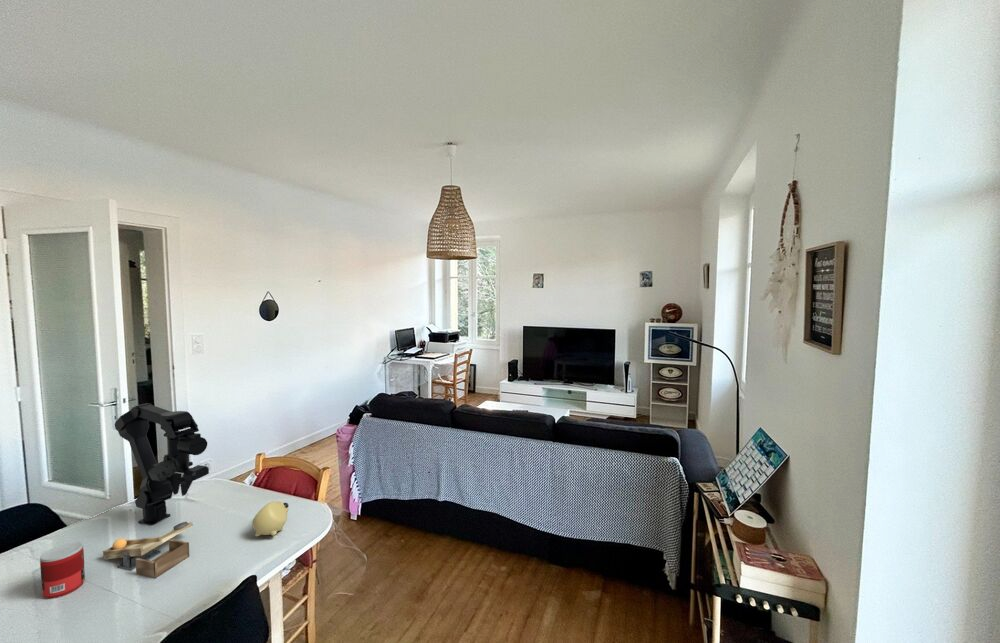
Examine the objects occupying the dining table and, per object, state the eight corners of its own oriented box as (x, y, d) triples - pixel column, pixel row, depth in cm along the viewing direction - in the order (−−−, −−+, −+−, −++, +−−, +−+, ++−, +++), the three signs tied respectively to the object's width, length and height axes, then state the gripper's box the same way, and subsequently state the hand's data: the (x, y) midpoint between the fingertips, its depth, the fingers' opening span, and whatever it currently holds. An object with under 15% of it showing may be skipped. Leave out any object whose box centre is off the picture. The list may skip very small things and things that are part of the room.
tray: (136, 574, 117) (135, 559, 117) (171, 552, 127) (170, 538, 126) (155, 578, 115) (154, 563, 115) (189, 556, 125) (188, 542, 125)
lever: (104, 559, 122) (103, 551, 122) (159, 529, 137) (158, 522, 137) (141, 555, 119) (139, 547, 119) (193, 525, 134) (192, 518, 134)
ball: (110, 552, 123) (108, 542, 123) (122, 546, 126) (120, 536, 126) (118, 552, 122) (116, 542, 122) (130, 546, 126) (128, 536, 125)
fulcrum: (117, 567, 119) (117, 553, 119) (148, 550, 128) (147, 536, 127) (131, 570, 118) (130, 556, 118) (160, 552, 126) (160, 539, 126)
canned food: (91, 582, 113) (89, 544, 112) (52, 603, 106) (50, 562, 105) (75, 575, 116) (73, 538, 115) (35, 595, 108) (33, 555, 107)
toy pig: (294, 521, 145) (294, 493, 144) (278, 542, 133) (277, 511, 132) (265, 522, 144) (265, 493, 143) (247, 543, 132) (246, 511, 131)
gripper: (130, 456, 131) (132, 502, 133) (177, 462, 127) (178, 510, 129) (165, 443, 142) (167, 487, 143) (209, 449, 138) (210, 493, 139)
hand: (180, 494), depth 138 cm, fingers open, 3 cm apart
